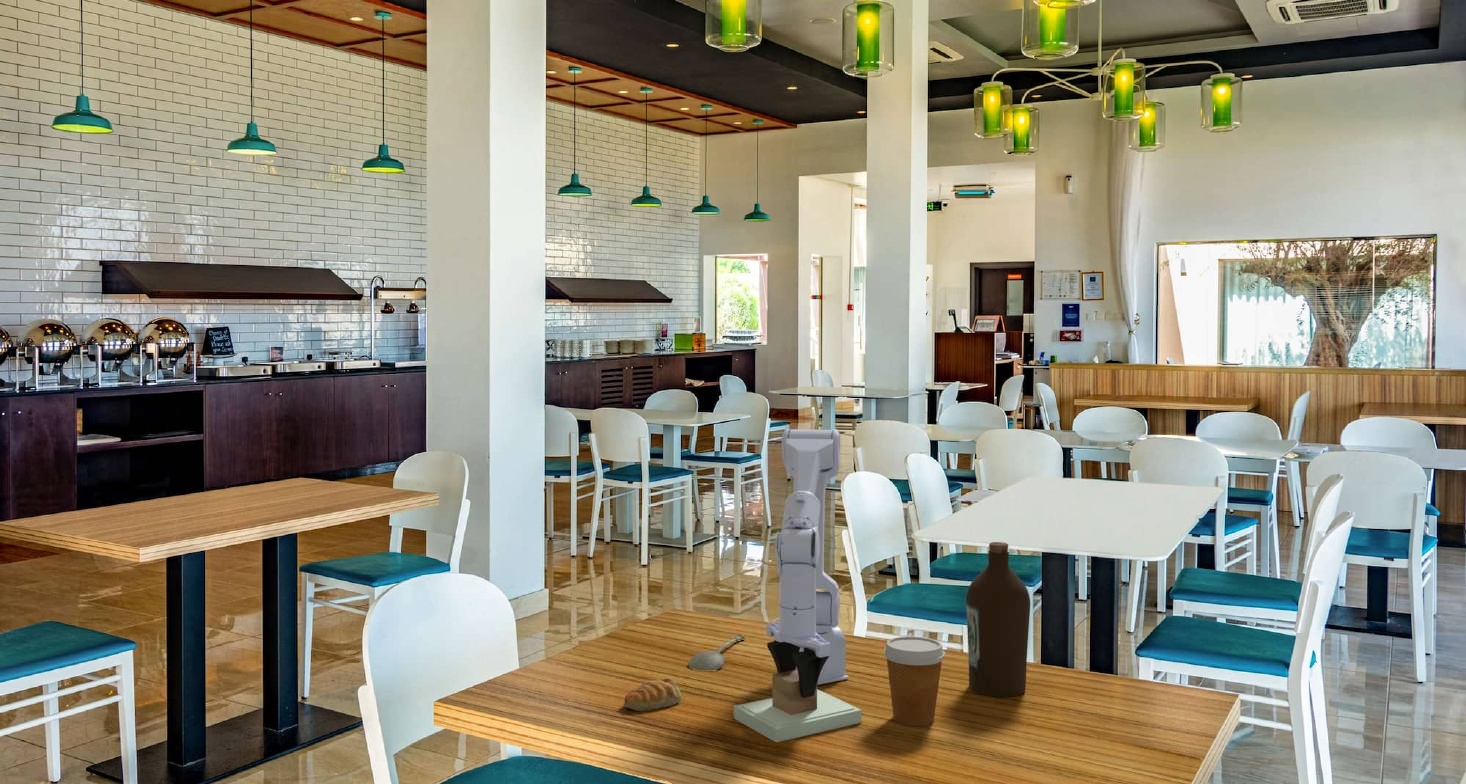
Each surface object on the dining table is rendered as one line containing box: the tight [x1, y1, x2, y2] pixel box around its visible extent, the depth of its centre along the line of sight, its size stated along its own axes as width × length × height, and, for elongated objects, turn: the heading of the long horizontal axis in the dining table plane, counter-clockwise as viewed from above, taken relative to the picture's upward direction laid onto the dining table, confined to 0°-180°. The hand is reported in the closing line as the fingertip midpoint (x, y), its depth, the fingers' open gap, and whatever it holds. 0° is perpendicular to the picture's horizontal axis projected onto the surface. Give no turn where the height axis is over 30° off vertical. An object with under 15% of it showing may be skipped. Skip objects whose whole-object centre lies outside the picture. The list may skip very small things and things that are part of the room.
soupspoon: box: [688, 633, 746, 671], centre depth 203 cm, size 22×3×7 cm
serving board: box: [733, 688, 863, 743], centre depth 168 cm, size 16×12×2 cm
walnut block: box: [771, 670, 818, 715], centre depth 168 cm, size 5×5×5 cm
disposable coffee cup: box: [883, 635, 946, 727], centre depth 168 cm, size 10×10×12 cm
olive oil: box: [965, 541, 1031, 698], centre depth 183 cm, size 11×11×25 cm
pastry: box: [623, 677, 682, 712], centre depth 176 cm, size 9×7×4 cm
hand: (797, 691), depth 168 cm, fingers closed on walnut block, 5 cm apart
